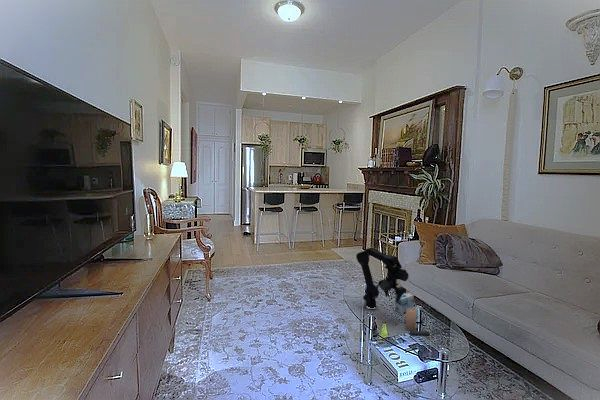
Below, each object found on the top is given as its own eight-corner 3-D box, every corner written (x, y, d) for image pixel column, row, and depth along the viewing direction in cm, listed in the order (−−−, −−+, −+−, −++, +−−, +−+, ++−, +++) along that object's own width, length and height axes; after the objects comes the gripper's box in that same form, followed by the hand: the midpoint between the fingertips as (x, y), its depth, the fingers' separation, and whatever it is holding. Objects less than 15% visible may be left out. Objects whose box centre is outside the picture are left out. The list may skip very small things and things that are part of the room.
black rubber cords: (410, 335, 191) (410, 332, 191) (404, 321, 206) (404, 318, 206) (430, 335, 190) (430, 332, 190) (422, 321, 205) (422, 318, 205)
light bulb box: (402, 314, 215) (402, 299, 213) (394, 310, 221) (394, 295, 219) (413, 310, 220) (414, 295, 218) (406, 306, 225) (406, 291, 224)
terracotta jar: (408, 331, 195) (408, 313, 193) (403, 326, 201) (404, 308, 199) (417, 330, 196) (418, 312, 194) (413, 325, 202) (413, 307, 200)
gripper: (372, 274, 210) (372, 297, 213) (393, 284, 194) (393, 308, 197) (384, 270, 216) (384, 292, 218) (407, 279, 200) (406, 303, 202)
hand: (392, 299), depth 209 cm, fingers open, 9 cm apart
